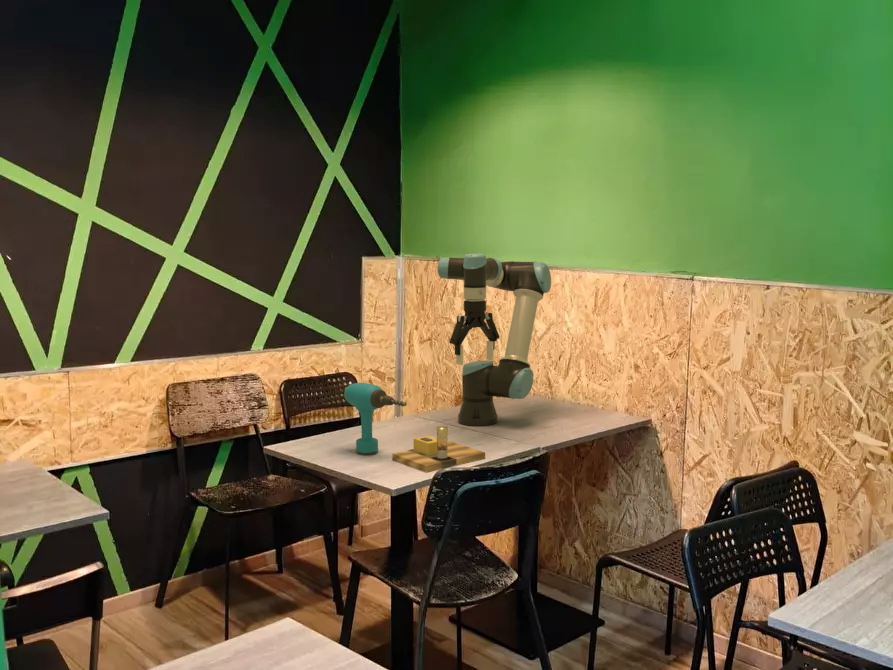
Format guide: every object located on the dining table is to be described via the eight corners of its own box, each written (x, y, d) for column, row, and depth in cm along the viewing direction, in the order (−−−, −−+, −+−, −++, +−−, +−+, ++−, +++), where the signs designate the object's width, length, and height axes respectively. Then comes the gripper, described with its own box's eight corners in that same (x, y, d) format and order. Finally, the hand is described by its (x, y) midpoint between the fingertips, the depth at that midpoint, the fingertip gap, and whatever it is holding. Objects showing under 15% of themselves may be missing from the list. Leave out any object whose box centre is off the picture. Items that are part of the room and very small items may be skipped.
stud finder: (413, 450, 277) (413, 437, 276) (428, 447, 281) (428, 434, 280) (428, 455, 271) (428, 442, 270) (443, 452, 275) (443, 439, 274)
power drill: (416, 460, 273) (415, 389, 270) (396, 466, 266) (396, 393, 263) (358, 445, 292) (356, 378, 288) (338, 450, 285) (337, 382, 282)
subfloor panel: (392, 459, 274) (392, 453, 274) (450, 446, 289) (450, 441, 288) (426, 472, 260) (426, 466, 260) (485, 458, 275) (485, 452, 275)
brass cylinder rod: (434, 464, 268) (434, 427, 267) (443, 462, 271) (442, 425, 269) (441, 466, 266) (441, 429, 264) (449, 464, 268) (449, 427, 266)
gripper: (453, 303, 275) (453, 367, 278) (509, 298, 290) (509, 359, 293) (438, 301, 281) (439, 364, 284) (495, 296, 296) (494, 356, 299)
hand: (475, 362), depth 288 cm, fingers open, 13 cm apart
